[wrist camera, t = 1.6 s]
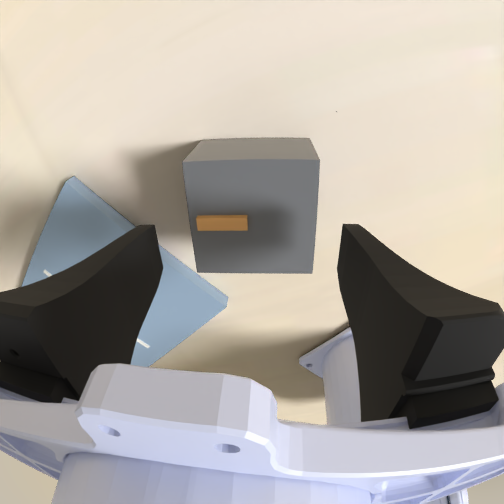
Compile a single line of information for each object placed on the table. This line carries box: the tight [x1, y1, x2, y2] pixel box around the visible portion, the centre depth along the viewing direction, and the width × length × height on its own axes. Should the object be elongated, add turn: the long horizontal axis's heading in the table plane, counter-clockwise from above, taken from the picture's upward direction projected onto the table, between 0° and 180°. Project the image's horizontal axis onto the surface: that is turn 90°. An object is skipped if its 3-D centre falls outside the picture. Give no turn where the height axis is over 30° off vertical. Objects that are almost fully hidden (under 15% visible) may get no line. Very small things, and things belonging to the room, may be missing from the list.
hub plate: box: [22, 176, 228, 367], centre depth 22 cm, size 13×16×4 cm
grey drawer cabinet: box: [182, 138, 320, 274], centre depth 16 cm, size 6×6×4 cm
